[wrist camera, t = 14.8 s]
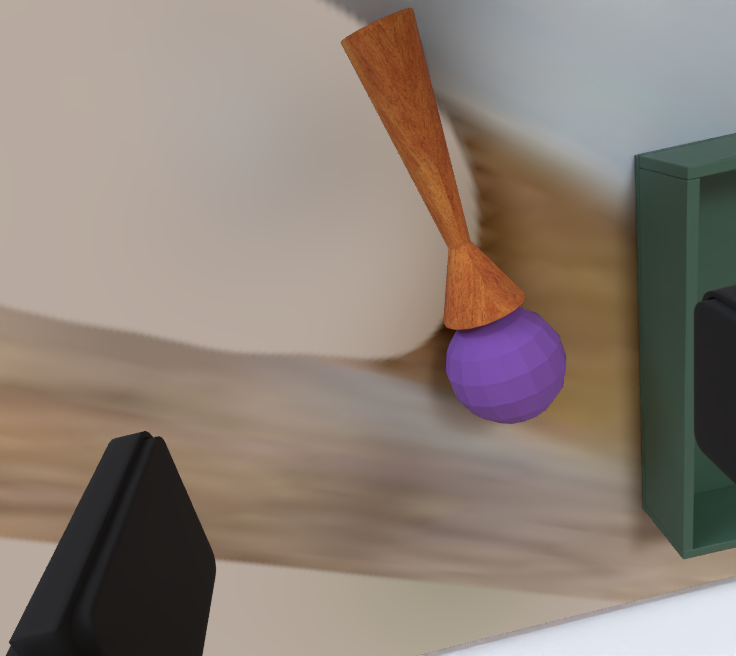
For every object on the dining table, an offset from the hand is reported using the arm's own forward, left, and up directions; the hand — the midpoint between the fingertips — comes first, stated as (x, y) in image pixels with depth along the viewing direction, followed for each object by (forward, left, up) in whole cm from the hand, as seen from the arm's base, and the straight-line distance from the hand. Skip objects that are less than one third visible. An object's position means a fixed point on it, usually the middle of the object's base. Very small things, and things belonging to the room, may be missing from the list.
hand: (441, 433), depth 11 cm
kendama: (+2, +5, -22) cm, 22 cm away
